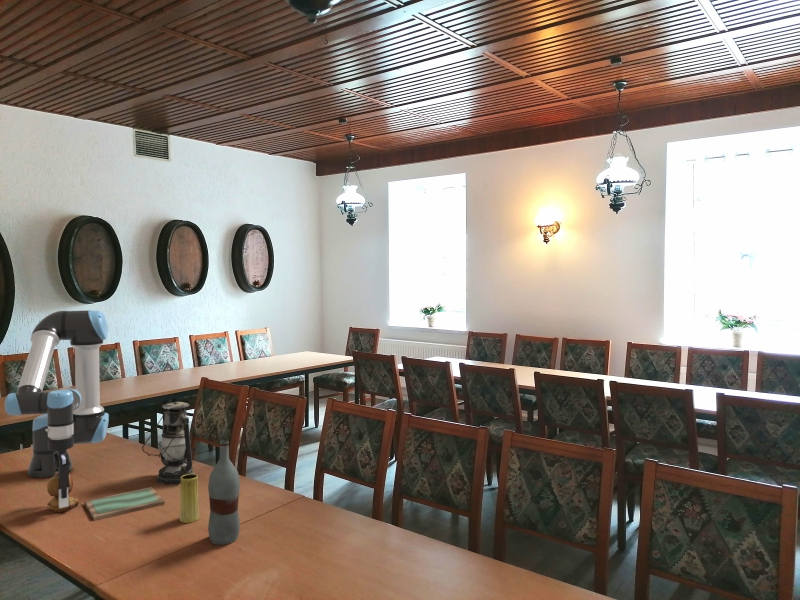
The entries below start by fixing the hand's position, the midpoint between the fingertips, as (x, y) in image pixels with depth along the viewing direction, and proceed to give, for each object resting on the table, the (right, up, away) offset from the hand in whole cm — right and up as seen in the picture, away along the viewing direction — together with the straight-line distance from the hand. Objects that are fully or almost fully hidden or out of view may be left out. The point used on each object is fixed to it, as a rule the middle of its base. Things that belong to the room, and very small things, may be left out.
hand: (61, 502), depth 194 cm
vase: (+46, -4, -6) cm, 46 cm away
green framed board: (+19, -3, +5) cm, 20 cm away
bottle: (+61, -5, -19) cm, 64 cm away
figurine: (0, -3, 0) cm, 3 cm away
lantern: (+25, -2, +29) cm, 39 cm away
